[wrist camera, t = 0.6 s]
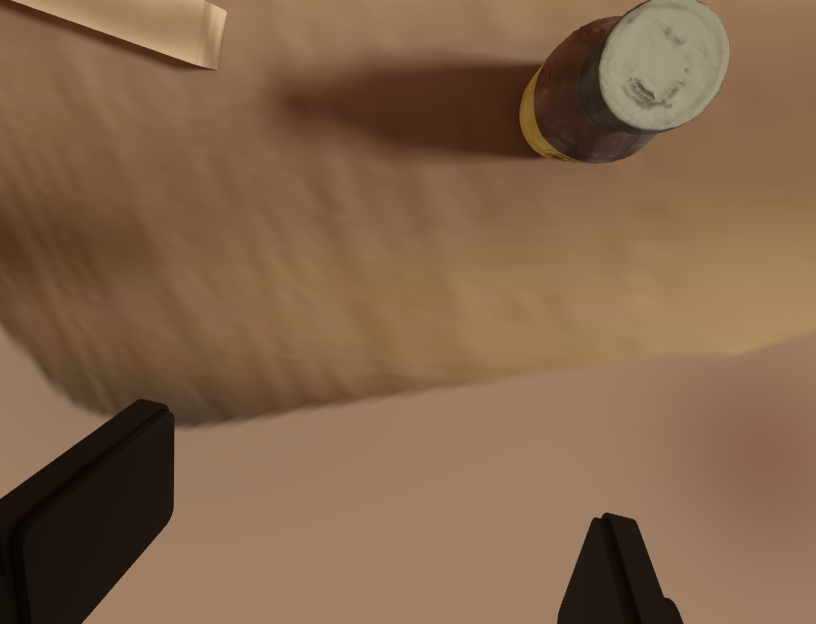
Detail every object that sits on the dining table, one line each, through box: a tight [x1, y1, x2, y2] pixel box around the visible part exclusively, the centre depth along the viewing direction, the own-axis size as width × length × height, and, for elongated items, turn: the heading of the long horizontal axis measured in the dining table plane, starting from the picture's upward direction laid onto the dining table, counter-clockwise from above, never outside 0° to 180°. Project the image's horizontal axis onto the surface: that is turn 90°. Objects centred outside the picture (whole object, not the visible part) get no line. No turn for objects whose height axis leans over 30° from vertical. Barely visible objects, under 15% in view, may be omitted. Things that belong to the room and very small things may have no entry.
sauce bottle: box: [519, 0, 729, 164], centre depth 26 cm, size 6×6×20 cm
